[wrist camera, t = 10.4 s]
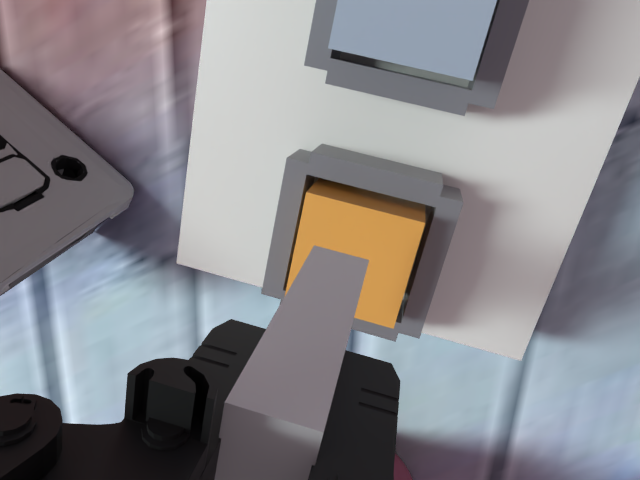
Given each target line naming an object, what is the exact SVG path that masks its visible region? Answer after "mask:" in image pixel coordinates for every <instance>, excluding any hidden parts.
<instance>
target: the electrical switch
mask: <svg viewBox="0 0 640 480" xmlns="http://www.w3.org/2000/svg"><path fill="white" fill-rule="evenodd" d="M133 194H134V188H133V187H132V185H131V183H130V182H129V181H128V180H127V179H126V178H125V177H123V176H122V175H121V174H120V173H119V172H118V171H117V170H115V169H114V168H113V167H112V166H111V165H110V164H109V163H107V162H106V161H105V160H104V159H103V158H102V157H101V156H99V155H98V154H97V153H96V152H95V151H94V150H93V149H91V148H90V147H89V146H88V145H87V144H86V143H85V142H83V141H82V140H81V139H80V138H79V137H78V136H77V135H75V134H74V133H73V132H72V131H71V130H70V129H69V128H67V127H66V126H65V125H64V124H63V123H62V122H60V121H59V120H58V119H57V118H56V117H55V116H54V115H52V114H51V113H50V112H49V111H48V110H47V109H46V108H44V107H43V106H42V105H41V104H40V103H39V102H38V101H36V100H35V99H34V98H33V97H32V96H31V95H30V94H28V93H27V92H26V91H25V90H24V89H23V88H22V87H20V86H19V85H18V84H17V83H16V82H15V81H14V80H12V79H11V78H10V77H9V76H8V75H7V74H6V73H4V72H3V71H2V70H1V69H0V296H1V295H2V294H4V293H5V292H7V291H8V290H10V289H11V288H13V287H14V286H15V285H17V284H18V283H20V282H21V281H23V280H24V279H26V278H27V277H29V276H30V275H32V274H33V273H34V272H36V271H37V270H39V269H40V268H42V267H43V266H45V265H46V264H48V263H49V262H51V261H52V260H53V259H55V258H56V257H58V256H59V255H61V254H62V253H64V252H65V251H67V250H68V249H69V248H71V247H72V246H74V245H75V244H77V243H78V242H80V241H81V240H83V239H84V238H86V237H87V236H88V235H90V234H91V233H93V232H94V230H95V228H96V226H97V225H98V224H99V223H101V222H102V221H104V220H105V219H107V218H109V217H110V218H111V219H112V218H114V217H115V216H117V215H118V214H120V213H121V212H123V211H124V210H126V209H127V208H128V207H129V205H130V202H131V200H132V198H133Z"/></svg>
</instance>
